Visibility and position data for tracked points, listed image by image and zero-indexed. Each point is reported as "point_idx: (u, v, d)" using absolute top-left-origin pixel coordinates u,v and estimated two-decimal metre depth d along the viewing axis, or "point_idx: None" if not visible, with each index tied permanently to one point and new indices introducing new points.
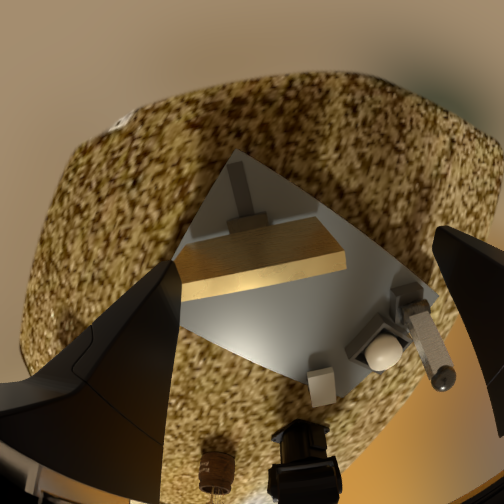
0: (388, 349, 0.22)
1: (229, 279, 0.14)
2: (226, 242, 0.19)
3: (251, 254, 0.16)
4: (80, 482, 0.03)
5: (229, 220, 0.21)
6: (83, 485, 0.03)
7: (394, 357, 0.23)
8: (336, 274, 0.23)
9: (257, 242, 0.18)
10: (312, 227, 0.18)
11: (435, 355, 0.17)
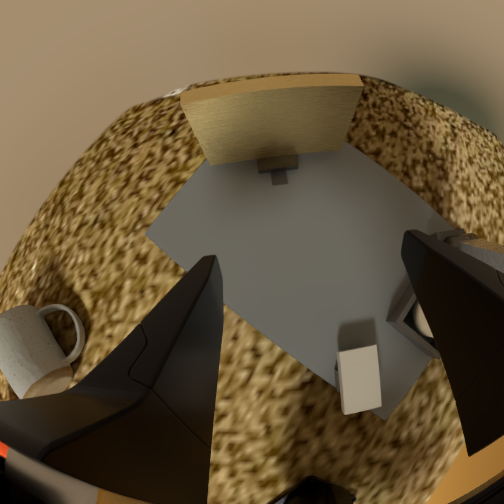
0: None
1: (256, 81, 0.13)
2: None
3: None
4: (141, 500, 0.03)
5: None
6: (141, 502, 0.03)
7: None
8: (365, 208, 0.20)
9: None
10: None
11: None
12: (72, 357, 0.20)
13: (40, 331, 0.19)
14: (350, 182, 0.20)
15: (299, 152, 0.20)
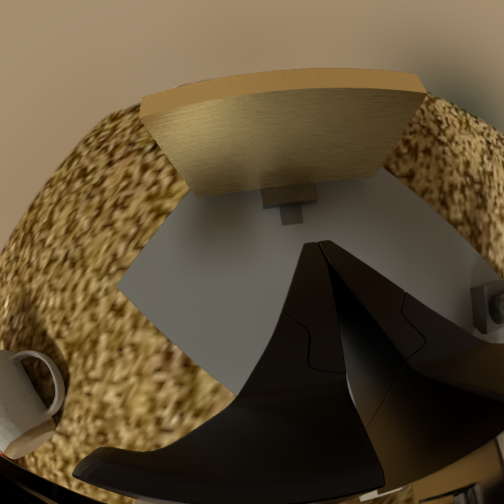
0: None
1: (262, 77, 0.08)
2: None
3: None
4: None
5: None
6: None
7: None
8: (402, 256, 0.15)
9: None
10: None
11: None
12: (51, 412, 0.15)
13: (14, 382, 0.14)
14: (384, 220, 0.15)
15: (318, 180, 0.15)
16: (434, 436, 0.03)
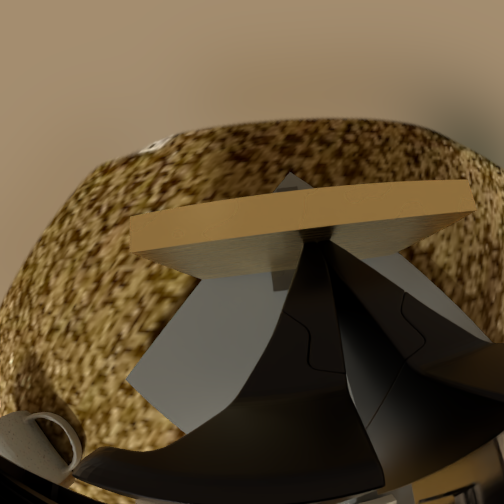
0: None
1: (286, 201, 0.07)
2: None
3: None
4: None
5: None
6: None
7: None
8: None
9: None
10: None
11: None
12: (72, 469, 0.14)
13: (32, 443, 0.13)
14: None
15: None
16: (434, 436, 0.03)
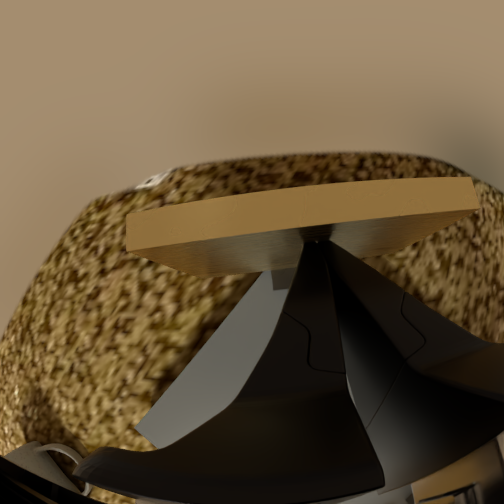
0: None
1: (286, 198, 0.07)
2: None
3: None
4: None
5: None
6: None
7: None
8: None
9: None
10: None
11: None
12: None
13: (45, 474, 0.12)
14: None
15: None
16: (434, 436, 0.03)
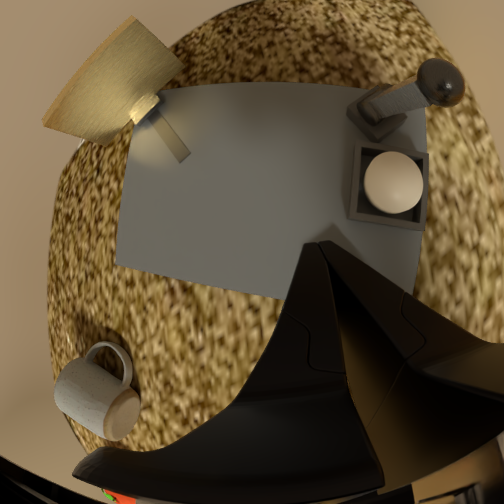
0: (387, 166, 0.14)
1: (74, 77, 0.13)
2: None
3: None
4: None
5: None
6: None
7: (411, 178, 0.14)
8: (268, 128, 0.19)
9: None
10: None
11: (408, 81, 0.09)
12: (126, 379, 0.24)
13: (92, 373, 0.24)
14: (242, 114, 0.19)
15: (157, 91, 0.20)
16: (434, 436, 0.03)
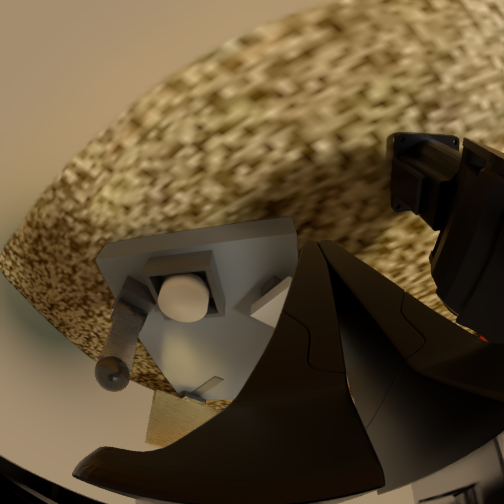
0: (173, 311, 0.19)
1: None
2: None
3: None
4: None
5: None
6: None
7: (173, 296, 0.19)
8: (181, 347, 0.26)
9: None
10: None
11: None
12: None
13: None
14: (178, 359, 0.28)
15: (179, 398, 0.31)
16: (434, 436, 0.03)
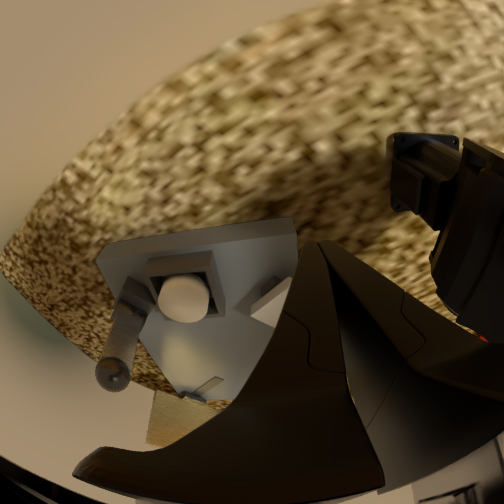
0: (174, 311, 0.19)
1: None
2: None
3: None
4: None
5: None
6: None
7: (173, 296, 0.19)
8: (181, 348, 0.26)
9: None
10: None
11: None
12: None
13: None
14: (178, 359, 0.28)
15: (180, 398, 0.31)
16: (434, 436, 0.03)
